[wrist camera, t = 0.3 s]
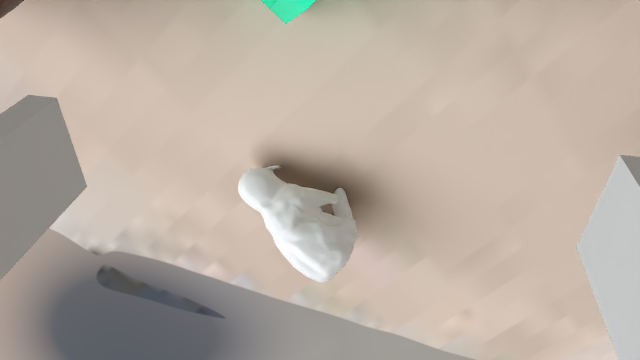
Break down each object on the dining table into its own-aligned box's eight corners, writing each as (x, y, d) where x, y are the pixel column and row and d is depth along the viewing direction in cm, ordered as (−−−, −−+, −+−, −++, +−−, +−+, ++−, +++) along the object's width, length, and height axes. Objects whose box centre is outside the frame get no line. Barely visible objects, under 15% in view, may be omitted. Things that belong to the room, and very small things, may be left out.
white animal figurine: (319, 303, 43) (204, 232, 41) (339, 242, 50) (241, 179, 48) (357, 264, 39) (232, 185, 38) (373, 205, 46) (268, 136, 45)
